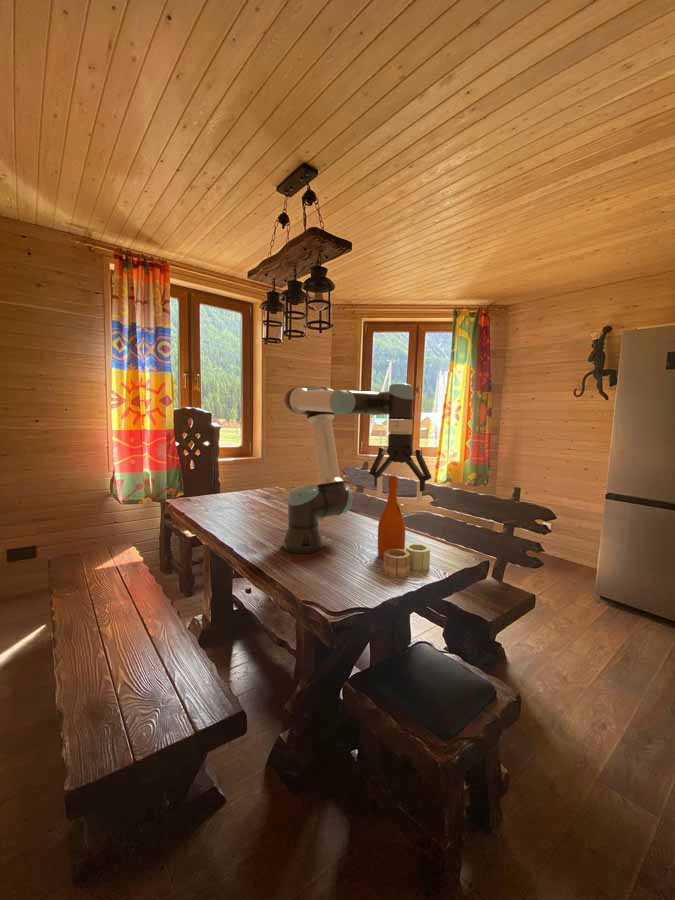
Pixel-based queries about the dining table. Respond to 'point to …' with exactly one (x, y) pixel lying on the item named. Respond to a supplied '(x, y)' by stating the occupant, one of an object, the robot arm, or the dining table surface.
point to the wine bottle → (391, 522)
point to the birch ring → (396, 563)
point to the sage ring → (419, 556)
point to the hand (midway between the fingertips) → (398, 499)
